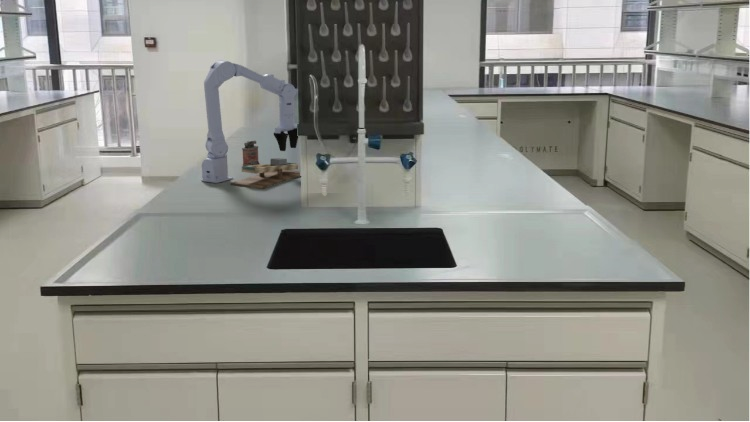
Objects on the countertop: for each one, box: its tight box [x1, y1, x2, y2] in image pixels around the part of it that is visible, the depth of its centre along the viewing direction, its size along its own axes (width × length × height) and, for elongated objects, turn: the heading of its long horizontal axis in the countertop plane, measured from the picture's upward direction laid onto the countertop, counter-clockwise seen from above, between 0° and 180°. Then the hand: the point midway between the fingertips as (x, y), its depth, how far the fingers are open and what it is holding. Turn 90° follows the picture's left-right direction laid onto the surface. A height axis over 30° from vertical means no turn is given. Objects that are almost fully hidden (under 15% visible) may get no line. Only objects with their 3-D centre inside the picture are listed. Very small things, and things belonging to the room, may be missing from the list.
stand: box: [230, 168, 301, 190], centre depth 271 cm, size 30×14×4 cm, turn 152°
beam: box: [241, 161, 299, 175], centre depth 270 cm, size 27×7×2 cm, turn 152°
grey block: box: [269, 157, 288, 166], centre depth 274 cm, size 5×4×3 cm
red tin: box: [241, 140, 260, 166], centre depth 299 cm, size 8×3×10 cm, turn 143°
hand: (288, 149), depth 280 cm, fingers open, 7 cm apart
